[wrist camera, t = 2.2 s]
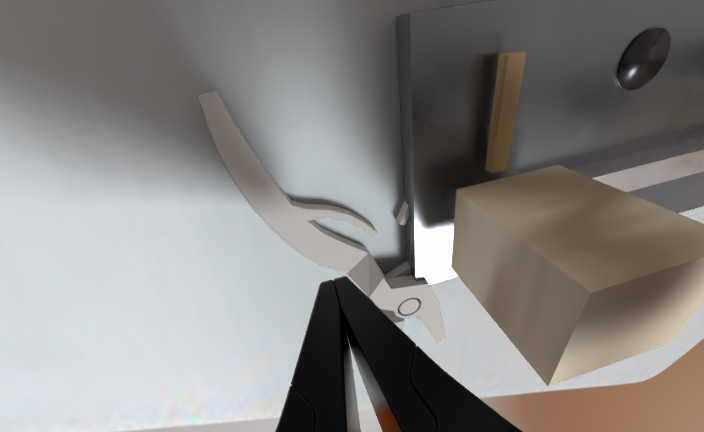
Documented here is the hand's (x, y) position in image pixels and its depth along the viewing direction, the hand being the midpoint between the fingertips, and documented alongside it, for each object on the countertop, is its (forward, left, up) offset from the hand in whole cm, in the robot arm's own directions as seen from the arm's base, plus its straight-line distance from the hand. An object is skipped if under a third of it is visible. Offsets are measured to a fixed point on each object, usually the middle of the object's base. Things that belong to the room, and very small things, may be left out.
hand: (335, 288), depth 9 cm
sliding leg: (-7, -2, -2) cm, 7 cm away
